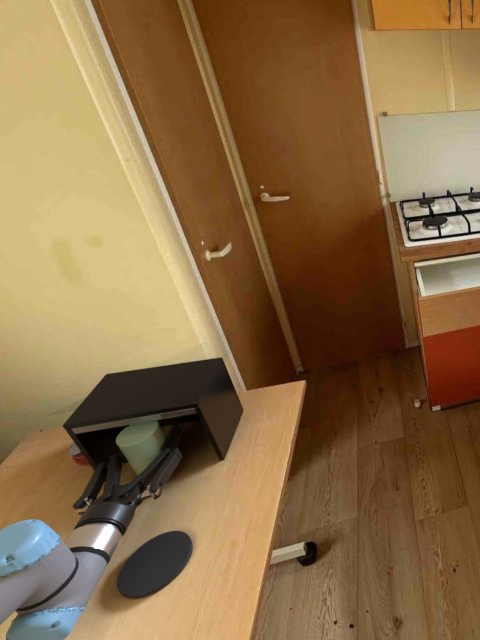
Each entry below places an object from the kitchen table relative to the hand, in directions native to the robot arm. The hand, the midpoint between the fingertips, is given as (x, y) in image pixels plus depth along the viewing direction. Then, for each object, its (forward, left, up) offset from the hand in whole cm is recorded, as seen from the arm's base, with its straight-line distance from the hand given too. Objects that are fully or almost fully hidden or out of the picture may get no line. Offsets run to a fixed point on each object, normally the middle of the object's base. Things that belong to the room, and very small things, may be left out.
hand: (158, 431), depth 95 cm
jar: (+4, -3, -6) cm, 8 cm away
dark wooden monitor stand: (-3, +2, -8) cm, 9 cm away
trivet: (+24, -11, -8) cm, 28 cm away
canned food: (-16, -9, -9) cm, 20 cm away
